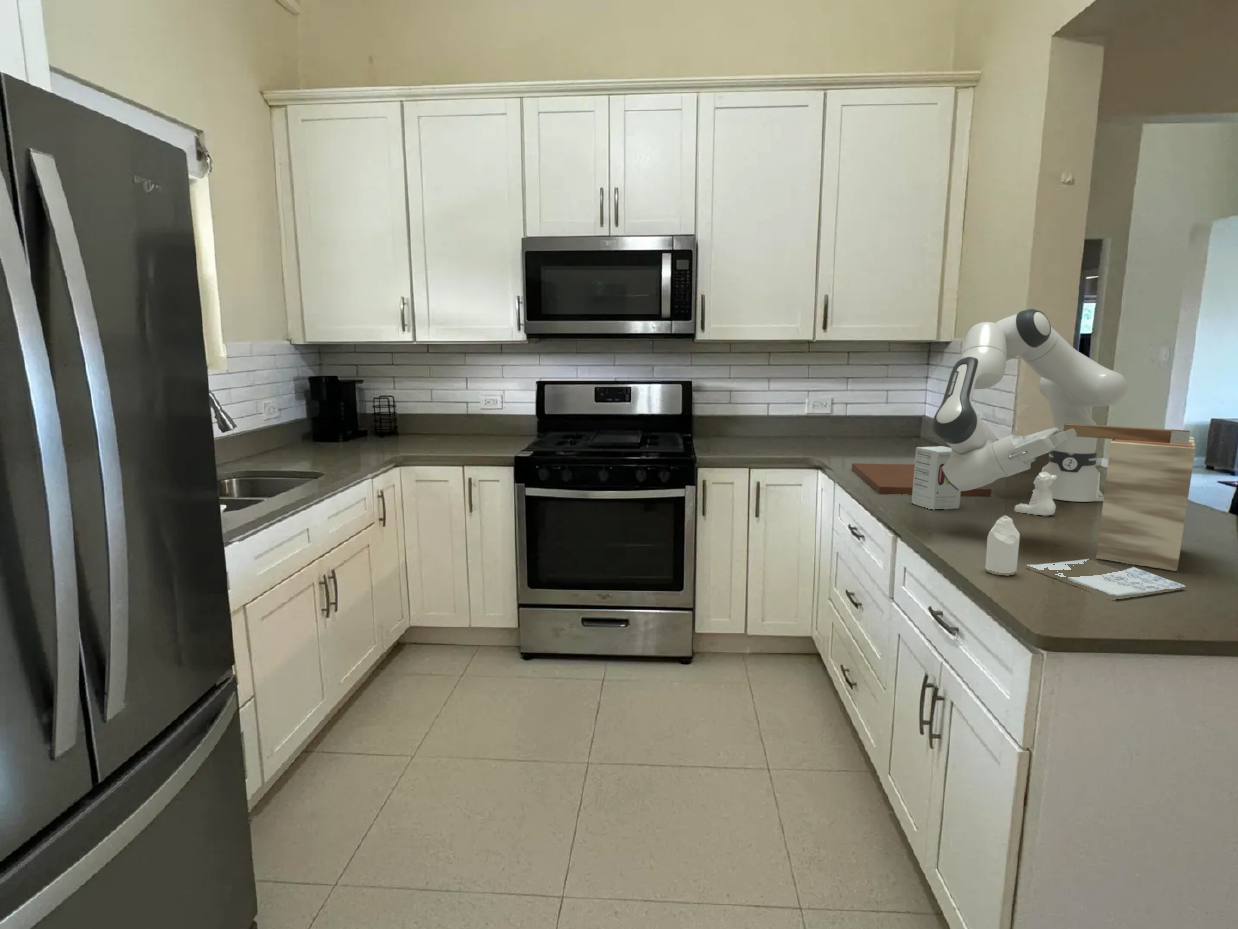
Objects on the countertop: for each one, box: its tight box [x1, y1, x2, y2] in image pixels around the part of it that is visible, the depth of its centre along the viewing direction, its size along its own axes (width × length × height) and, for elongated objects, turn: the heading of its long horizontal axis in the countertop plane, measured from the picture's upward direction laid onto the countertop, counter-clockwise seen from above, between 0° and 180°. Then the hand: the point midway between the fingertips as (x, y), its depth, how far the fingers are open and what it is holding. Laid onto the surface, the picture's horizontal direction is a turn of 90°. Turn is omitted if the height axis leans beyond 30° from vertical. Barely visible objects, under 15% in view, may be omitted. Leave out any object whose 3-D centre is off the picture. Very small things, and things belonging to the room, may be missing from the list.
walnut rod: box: [1063, 423, 1191, 445], centre depth 151 cm, size 4×22×2 cm, turn 53°
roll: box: [985, 515, 1021, 573], centre depth 144 cm, size 6×12×6 cm
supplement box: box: [911, 445, 961, 511], centre depth 200 cm, size 10×9×17 cm
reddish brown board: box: [851, 462, 992, 498], centre depth 234 cm, size 40×3×33 cm
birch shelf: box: [1095, 436, 1196, 571], centre depth 154 cm, size 20×14×26 cm
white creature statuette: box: [1013, 471, 1057, 516], centre depth 191 cm, size 10×9×12 cm
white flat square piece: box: [1026, 558, 1187, 596], centre depth 141 cm, size 19×20×2 cm
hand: (1078, 429), depth 156 cm, fingers open, 8 cm apart
